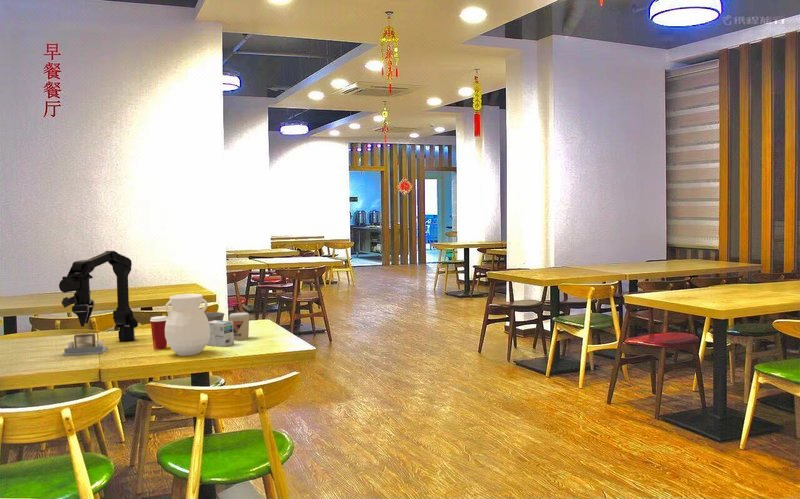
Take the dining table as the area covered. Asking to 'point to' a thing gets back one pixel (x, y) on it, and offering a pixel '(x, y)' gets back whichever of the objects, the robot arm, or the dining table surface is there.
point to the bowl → (214, 316)
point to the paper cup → (158, 332)
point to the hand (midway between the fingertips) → (84, 324)
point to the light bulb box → (221, 333)
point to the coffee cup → (240, 325)
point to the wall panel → (84, 349)
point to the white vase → (187, 324)
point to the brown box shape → (84, 340)
